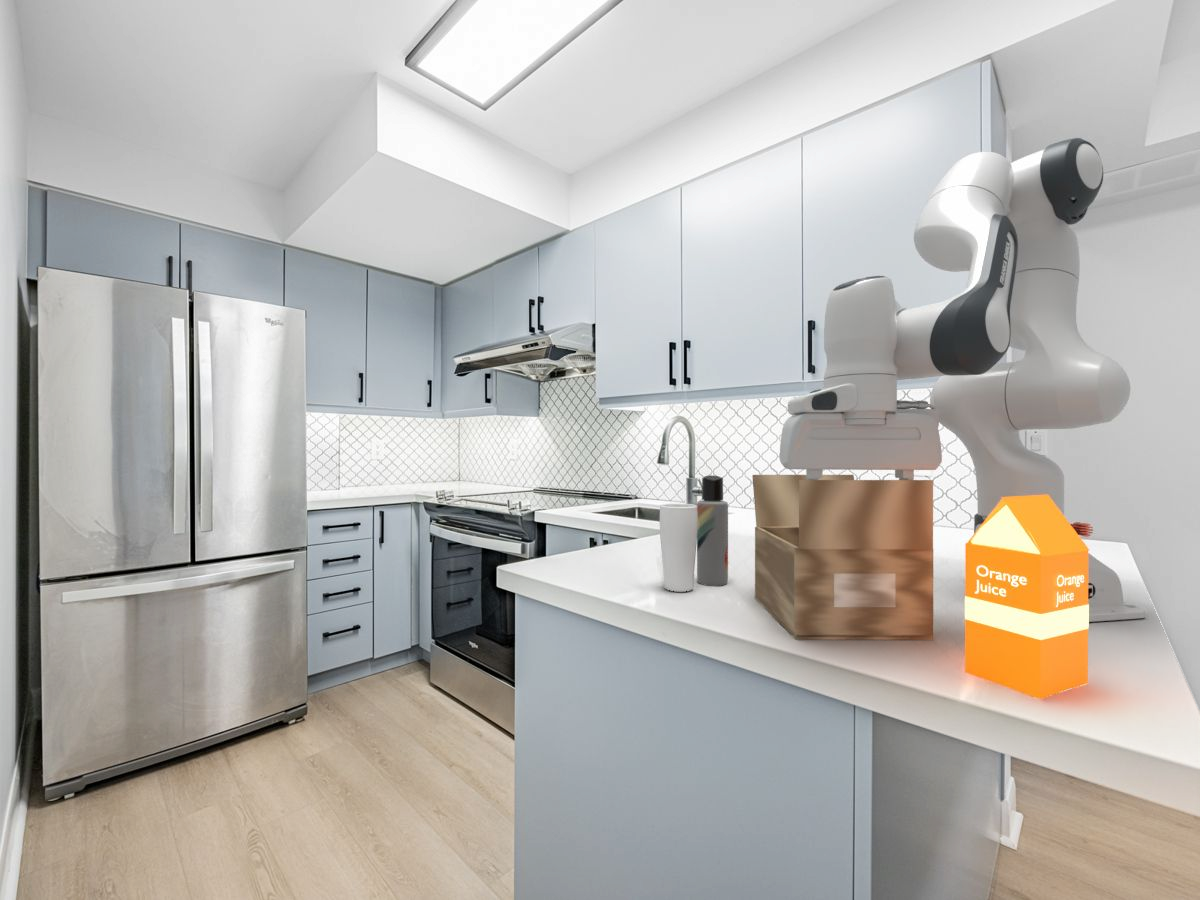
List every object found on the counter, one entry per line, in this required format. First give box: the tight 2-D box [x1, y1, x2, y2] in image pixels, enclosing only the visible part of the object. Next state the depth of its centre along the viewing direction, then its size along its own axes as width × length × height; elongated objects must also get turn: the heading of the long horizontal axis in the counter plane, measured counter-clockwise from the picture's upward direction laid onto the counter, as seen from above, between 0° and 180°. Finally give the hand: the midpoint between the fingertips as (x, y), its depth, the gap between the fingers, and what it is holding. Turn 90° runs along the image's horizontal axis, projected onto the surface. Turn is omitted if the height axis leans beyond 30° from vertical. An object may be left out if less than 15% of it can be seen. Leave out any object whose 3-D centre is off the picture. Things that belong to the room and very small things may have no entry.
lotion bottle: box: [696, 475, 729, 587], centre depth 104 cm, size 6×6×20 cm
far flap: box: [751, 474, 855, 527], centre depth 95 cm, size 17×9×1 cm
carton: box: [754, 526, 934, 641], centre depth 83 cm, size 18×20×12 cm
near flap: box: [799, 479, 934, 550], centre depth 73 cm, size 17×9×1 cm
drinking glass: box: [659, 503, 698, 593], centre depth 99 cm, size 7×7×15 cm
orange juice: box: [964, 495, 1090, 700], centre depth 61 cm, size 8×9×20 cm
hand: (858, 504), depth 74 cm, fingers open, 8 cm apart
